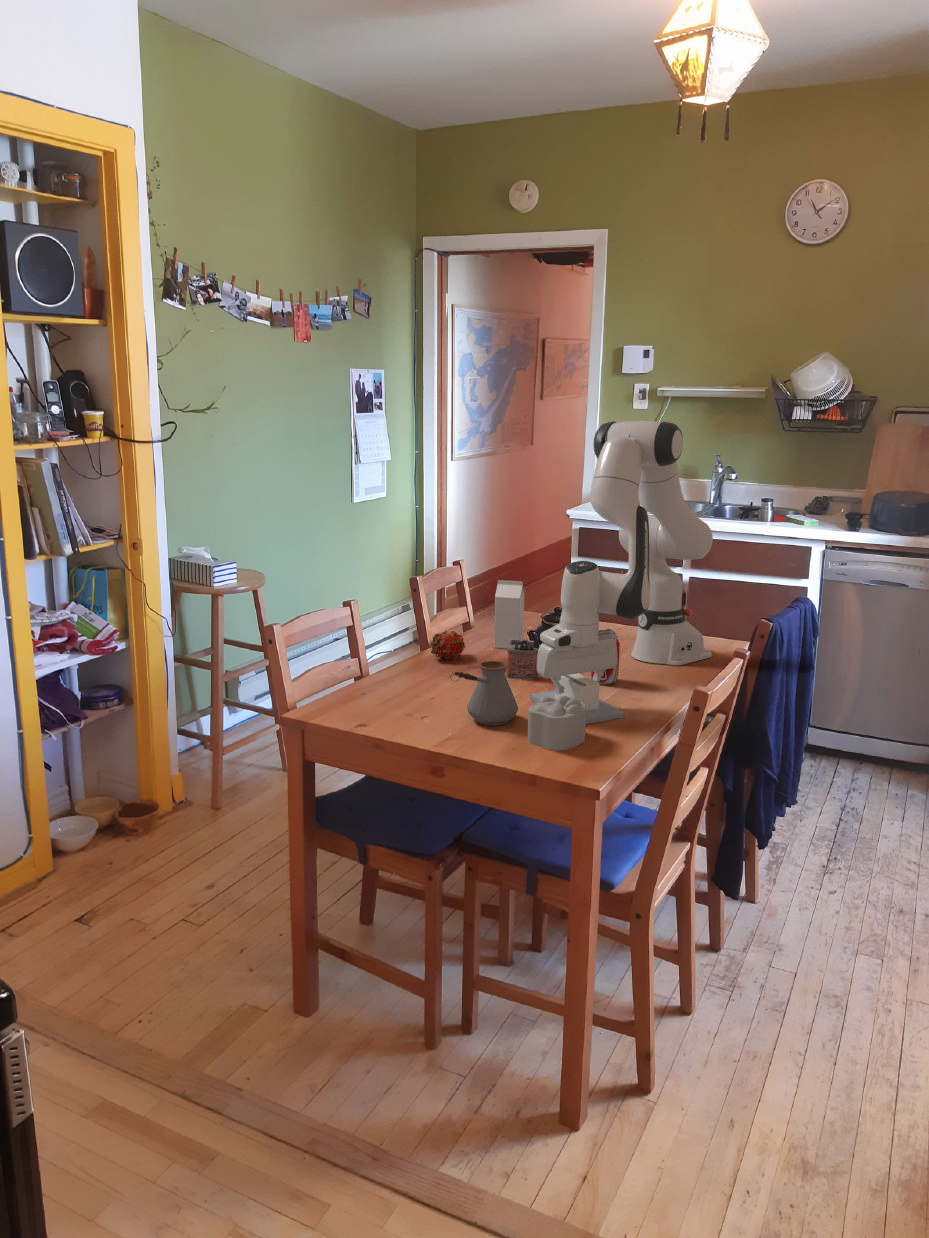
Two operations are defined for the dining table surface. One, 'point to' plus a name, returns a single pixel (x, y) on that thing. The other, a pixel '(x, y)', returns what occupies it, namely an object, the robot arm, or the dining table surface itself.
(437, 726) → the dining table surface
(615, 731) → the dining table surface
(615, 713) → the board
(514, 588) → the milk carton
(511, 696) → the coffee pot
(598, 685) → the block
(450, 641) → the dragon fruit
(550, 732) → the lumpy-topped squat cylinder
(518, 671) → the lighter
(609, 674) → the soda can
